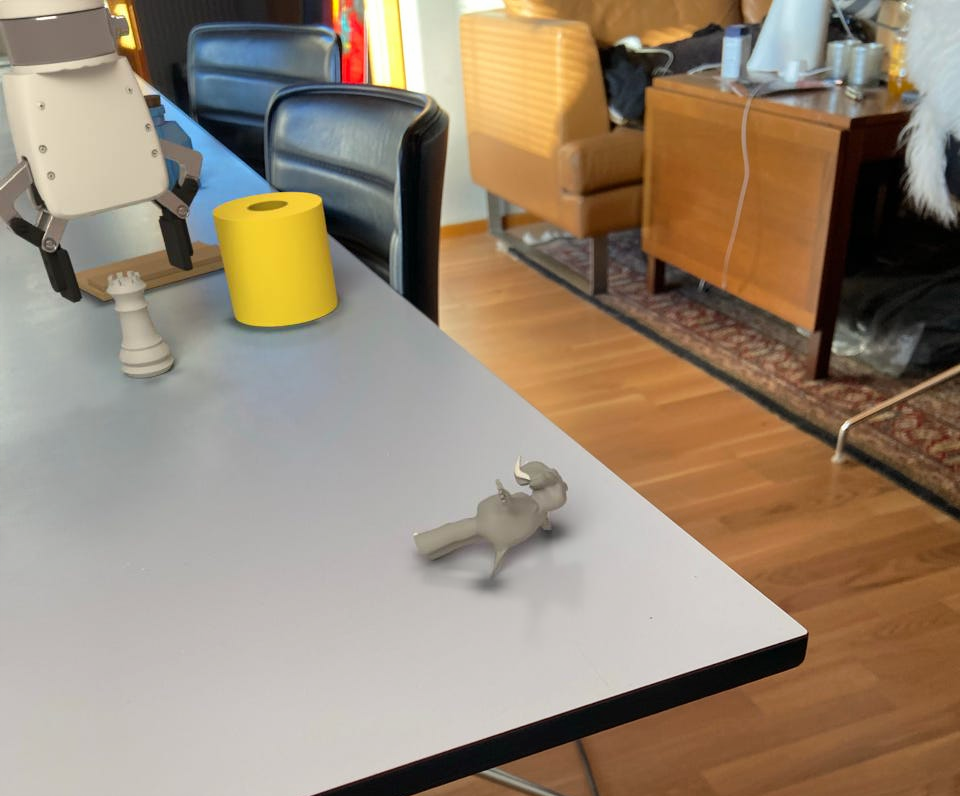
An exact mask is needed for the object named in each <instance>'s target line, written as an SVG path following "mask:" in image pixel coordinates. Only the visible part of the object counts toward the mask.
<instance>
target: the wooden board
mask: <svg viewBox="0 0 960 796" xmlns="http://www.w3.org/2000/svg"><path fill="white" fill-rule="evenodd" d="M191 244H192V248H193V256H190V257H191V261H192V265H193V270H190V271H185V270H182V269H179V268H177V267H174V266H172V265H170V263H169V259H168V255H167V252H166V248H165V249H161V250H157V251H154V252H150V253H147V254H146V253H145V254H142V255H139V256H134V257H130V258H127V259H123V260H120V261H115V262H111V263H108V264H104V265H99V266H96V267H92V268H88V269H85V270H81V271H77V272H75V276H76V279H77V282H78V285H79V288H80V290H82V291H84V292H86V293H88V294H90V295H92V296H93V297H96V298H97V299H99V300H101V301H103V302H106V301H110V300H114V298H113V297H112V296H111V295H110V294H108V293H107V292H106V290H107V288H108V285H109V283H108V277H109V276H110V275H114V278H115V280H116V279H117V275H116V273H119V272H122V274H123V277H128V275H127V271H133V273H134V272H138V273H139V276H140V279H141V280H142V281H143V282H145V283H146V287H145V290H144V291H146V290H150V289H153V288H157V287H161V286H165V285H168V284H173V283H176V282H180V281H183V280H186V279H190V278H194V277H197V276H201V275H204V274H208V273H211V272H216V271H219V270H222V269H224V264H223V260H222V255H221V251H220V246H219V244H208V243H205V242H202V241H200V240H196V241H193V242H192V241H191Z"/></svg>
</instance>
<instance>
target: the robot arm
mask: <svg viewBox="0 0 960 796" xmlns="http://www.w3.org/2000/svg"><path fill="white" fill-rule="evenodd" d="M129 35H130V25H129V22H128V20H127V18H126V16H125V15H123V14H120V15H115V14H113V13H112V14H111V12H110V9H109V7H106V6H105V0H0V36H1V39H2V42H3V45H4V48H5V51H6V55H7V58H8V60H9V64H10V68H11V70H10V71H5V72H1V75H0V76H1V86H2V92H3V93H2V94H3V99H4V105H5V110H6V115H7V122H8V126H9V130H10V135H11V138H12V144H13V148H14V151H15V156H16V159H17V163H18V164H17V165H16V166H15V167H14V168H12V170H11V171H10V172H8V173H7V174H6V175H5V176H4V177H3V178H1V180H0V222H1V223H2V224H3V225H4V226H6V228H7V229H8V230H9V231H10V232H11V233H13V234H14V235H16V236H18V237H19V238H21V239H23V240H24V241H26V242H28V243H30V244H31V245H33V246H34V247H37V248H38V250H39V253H40V256H41V260H42V262H43V265H44V268H45V271H46V274H47V277H48V280H49V283H50V286H51V288H52V289H53V291H54V292H55V293H59V294H60V296H61V297H62V298H64V299H65V300H67V301H70V302H71V303H73V304H75V303H79V302H81V301H82V299H83V295H82V292H81V289H80V288H79V285H78V282H77V279H76V276H75V273H76V272H75V270H74V269H75V268H74V266H73V264H72V260H71V257H70V254H69V252H68V250H67V249H65V248H62V246H61V240H62V238H63V235H64V232H65V230H66V228H67V225H68V222H69V220H76V219H82V218H86V217H91V216H94V215H99V214H103V213H106V212H107V213H108V212H111V211H115V210H121V209H124V208H128V207H132V206H137V205H140V204H141V205H142V204H143V203H148V202H151V203H152V204H153V205H154V206H156V207H157V208H158V209H160V211H161V214H162V215H159V216H158V217H159V218H158V223H159V224H158V225H159V228H160V232H161V236H162V239H163V243H164V247H165V249H166V252H167V255H168V259H169V263H170V265H172V266H174V267H177V268H179V269H182V270H185V271H190V270H193V265H192V261H191V257H190V256H193V248H192V244H191V243H192V240H191V235H190V232H189V227H188V223H187V218H188V217H190V212H191V210H190V207H191V205H192V204H193V201H194V199H195V197H196V195H197V194H198V192H199V189H200V187H199V185H198V179H199V178H201V177H200V176H201V172H202V165H203V160H204V157H203V154H202V152H200V151H199V150H195V149H194V148H193V149H190V148H187V147H184V146H181V145H179V144H176V143H173V142H170V141H167V140H164V139H161V138H159V137H158V136H157V133H156V130H155V127H154V124H153V121H152V118H151V115H150V112H149V109H148V107H147V104H146V101H145V99H144V96H145V95H144V94H143V91H142V88H141V85H140V84H139V82H138V79H137V77H136V75H135V73H134V70H133V69H132V65H131V64H130V62H129V60H128V57H127V56H124V55H119V54H118V51H117V49H119V47H120V46H119V42H118V40H120V39H121V37H126V36H129ZM164 157H165V158H168V159H171V160H174V161H176V162H178V164H179V166H180V171H179V173H180V176H179V178H178V179H177V181H176V183H175V185H174V187H173V189H172V191H170V190H169V189H168V187H169V179H168V173H167V168H166V164H165V160H164ZM24 192H26V195H27V197H28V200H29V202H30V204H31V206H32V208H33V209H35V210H36V211H37V212H38V214H37V216H36V219H35V221H34V224H32V223H31V222H29V221H28V220H26V219H25V218H23V217H22V216H21V214H20V213H19V212H18V211H17V210H16V208H15V206H14V203H15V201H16V200H17V199H18V198H19V197H20V196H21V195H22V194H23V193H24Z"/></svg>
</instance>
